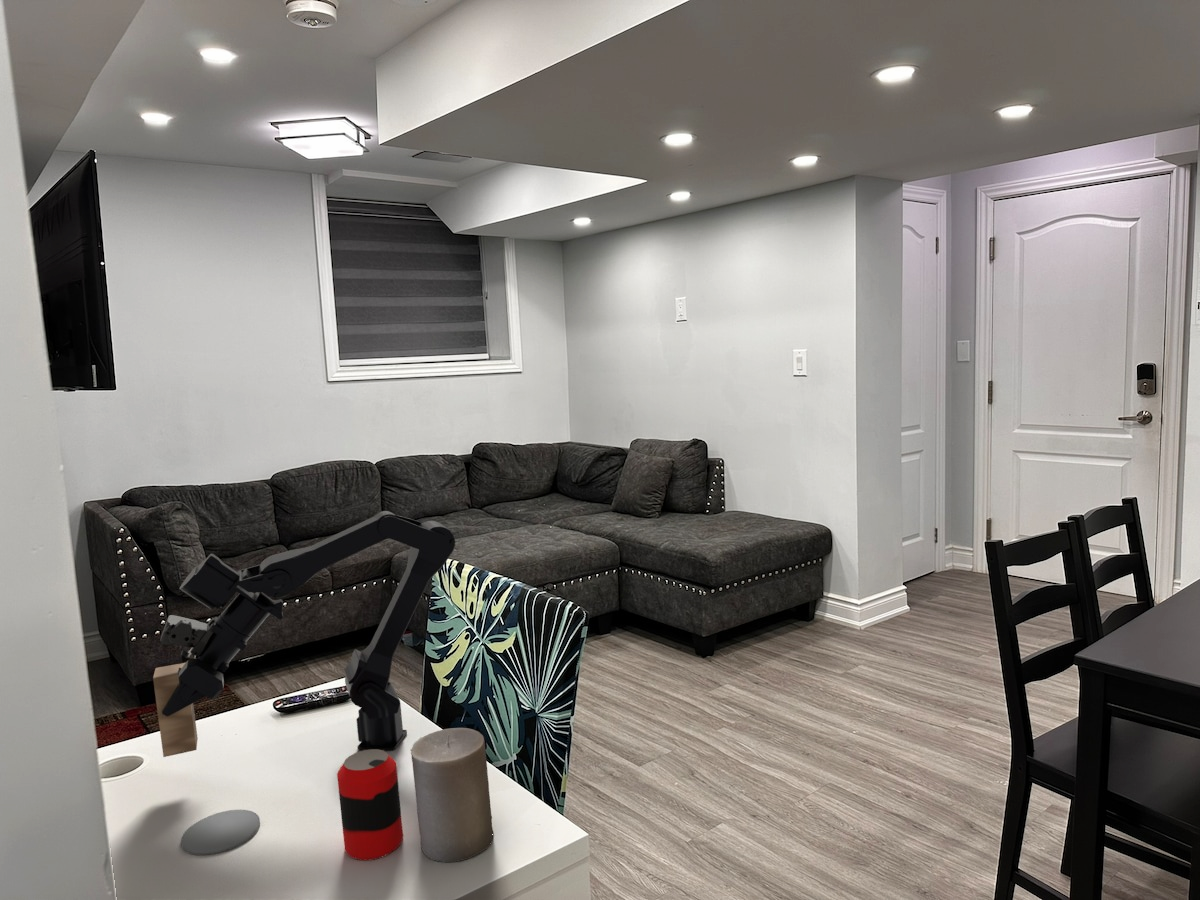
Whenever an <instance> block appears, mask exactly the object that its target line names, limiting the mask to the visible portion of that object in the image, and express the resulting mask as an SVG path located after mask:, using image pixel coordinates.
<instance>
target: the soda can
mask: <svg viewBox="0 0 1200 900" xmlns="http://www.w3.org/2000/svg"><path fill="white" fill-rule="evenodd" d="M397 768H398V766H397V762H396V760H395V759H394V758H393V757H392V756H390V755H389V754H388V752H386V750H379V749H370V750H359V751H357V752H354V753H352V754H351V755H349V756H348V757H347V758H345V760H344V762H343V763H342V765H341V766H340V768H339V770H338V771H337V773H336V775H337V777H336V778H337V786H338V797H339V805H340V807H339V808H340V812H341V813H340V815H341V826H342V834H343V835H342V836H343V844H344V845H343V846H344V851H345V853H346V854H347V855H348V856H349V857H350V858H353V859H354V858H356V859H355V860H358V859H361V860H360V861H370V860H369V859H373V860H376V859H375V858H377V859H380V858H379V857H381V858H383V857H386V856H388V855H390V854H391V853H393V852H394V851H396V850H397V849H398V847H399V846H400V845H401V843H402V842H403V838H404V832H403V822H402V821H403V820H402V811H401V801H400V800H401V799H400V790H399V779H398V769H397ZM392 851H393V852H392ZM389 853H390V854H389ZM387 854H388V855H387ZM385 855H386V856H385ZM382 856H383V857H382Z"/></svg>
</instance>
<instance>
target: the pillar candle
mask: <svg viewBox="0 0 1200 900" xmlns="http://www.w3.org/2000/svg"><path fill="white" fill-rule="evenodd" d="M486 752H487V751H486V743H485V737H484V735H483V734H482V733H481V732H480V731H478V730H475V729H473V728H467V727H453V728H452V727H451V728H445V729H440V730H437V731H434V732H431V733H428V734H426V735H424V736H422V737H420V738H419V739H417V740H416V741H414V743H413V744H412V746H411V748H410V754H411V763H412V770H413V781H414V782H413V783H414V791H415V792H414V793H415V802H416V803H415V804H416V810H417V812H416V813H417V821H418V828H419V829H418V830H419V837H420V838H419V840H420V847H421V850H422V852H423V853H424V854H425V856H427V857H428V858H429V859H430V860H432V861H435V860H436V862H440V861H442V862H444V863H454V862H460V861H463V860H467V859H469V858H473V857H475V856H476V855H478V854H480V853H481V852H484V850H486V849H488V848H489V846H490V845H491V844H492V842H493V840H494V837H495V836H494V829H493V822H492V821H493V820H492V819H493V815H492V808H491V797H490V784H489V774H488V765H487V763H488V762H487V753H486ZM492 834H493V835H492ZM490 843H491V844H490ZM453 861H454V862H453ZM442 862H441V863H442Z"/></svg>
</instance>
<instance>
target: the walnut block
mask: <svg viewBox="0 0 1200 900" xmlns="http://www.w3.org/2000/svg"><path fill="white" fill-rule="evenodd" d="M184 664H185V663H182V662H181V663H177V664H171V665H165V666H159V667H156V668H155V669H154V673H153V677H152V679H153V686H154V687H153V688H154V695H155V703H156V704H155V705H156V709H157V710H156V711H157V718H158V719H157V720H158V725H159V733H160V739H161V740H160V741H161V749H162V755H163V758H166V757H171V756H174V755H176V756H177V755H181V754H184V753H188V752H194V751H197V747H198V731H197V730H198V729H197V723H196V715H195V706H194V703H192V704H191V705H189V706H187V707H185V708H183V709H181V710H179V711H177V712H175V713H174V714H172V715H170V716H165V715H163V714H162V711H163V709H164V707H165V706H166V704H167V702H168V701H169V699H170V697H171V696H172V694H173V692H174V691H175V689H176V687H177V686H178V684H179V678H178V669H179V667H180V668H182V667H183V665H184Z"/></svg>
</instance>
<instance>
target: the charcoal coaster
mask: <svg viewBox="0 0 1200 900" xmlns="http://www.w3.org/2000/svg"><path fill="white" fill-rule="evenodd" d="M260 827H261V820H260V816H259V815H258V814H257V813H256V812H254V811H252V810H248V809H231V810H225V811H220V812H216V813H213V814H211V815H209V816H205V817H204V818H201V819H200V820H198V821H196V822H195V823H192V825H190V826H189V827H188V828H187V829H186V830H185V831H184V833H183V834H182V836H181V839H180V842H181V847H182V849H183V850H184V852H186V853H187V854H190V855H195V856H207V855H208V856H209V855H215V854H219V853H224V852H226V851H230V850H232V849H234V848H237V847H240V845H243V844H244V843H247V842H248V841H249V840H250V839H252V838H253V837H254V836H255V835H256V834H257V832H258V831H259V830H260Z"/></svg>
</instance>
